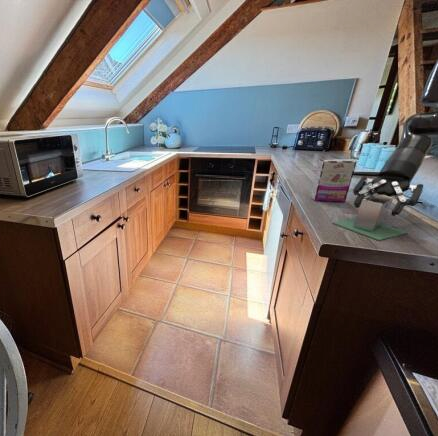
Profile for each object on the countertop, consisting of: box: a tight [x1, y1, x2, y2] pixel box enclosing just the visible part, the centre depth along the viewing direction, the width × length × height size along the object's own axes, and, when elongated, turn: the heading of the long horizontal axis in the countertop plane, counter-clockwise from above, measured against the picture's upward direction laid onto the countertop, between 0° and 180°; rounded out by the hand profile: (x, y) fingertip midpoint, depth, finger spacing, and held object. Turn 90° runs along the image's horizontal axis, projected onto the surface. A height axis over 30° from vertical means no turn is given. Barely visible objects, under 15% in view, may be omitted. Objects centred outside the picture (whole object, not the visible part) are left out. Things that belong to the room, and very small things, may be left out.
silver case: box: [353, 194, 394, 232], centre depth 74 cm, size 5×8×9 cm, turn 122°
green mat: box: [332, 217, 408, 242], centre depth 75 cm, size 13×13×1 cm
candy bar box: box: [310, 159, 358, 203], centre depth 98 cm, size 11×5×16 cm, turn 76°
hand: (373, 210), depth 72 cm, fingers open, 8 cm apart
